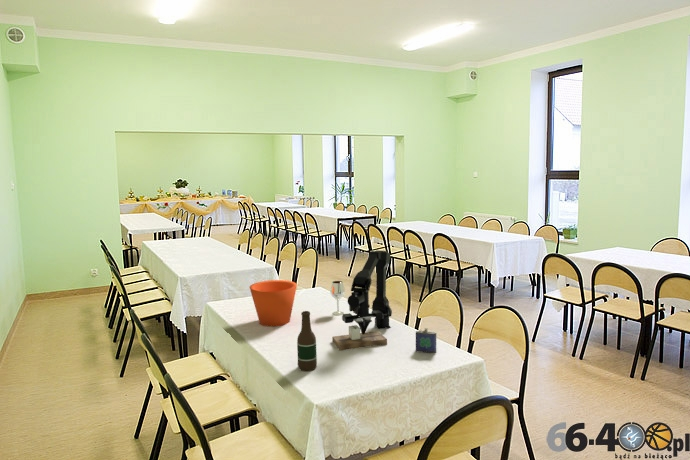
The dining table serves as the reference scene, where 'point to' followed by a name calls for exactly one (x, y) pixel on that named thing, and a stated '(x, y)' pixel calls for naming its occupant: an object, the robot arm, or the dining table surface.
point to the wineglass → (337, 294)
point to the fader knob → (354, 332)
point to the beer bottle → (306, 345)
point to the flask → (426, 341)
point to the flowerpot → (273, 301)
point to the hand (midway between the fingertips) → (363, 334)
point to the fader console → (359, 341)
